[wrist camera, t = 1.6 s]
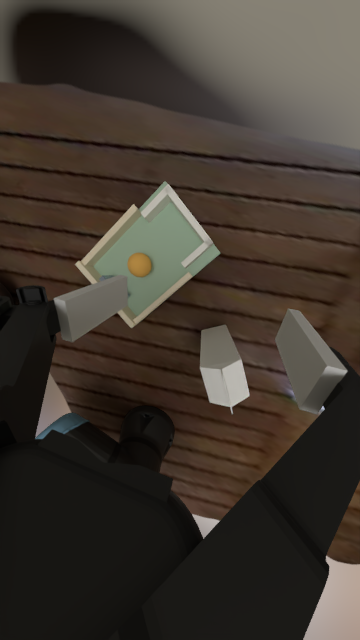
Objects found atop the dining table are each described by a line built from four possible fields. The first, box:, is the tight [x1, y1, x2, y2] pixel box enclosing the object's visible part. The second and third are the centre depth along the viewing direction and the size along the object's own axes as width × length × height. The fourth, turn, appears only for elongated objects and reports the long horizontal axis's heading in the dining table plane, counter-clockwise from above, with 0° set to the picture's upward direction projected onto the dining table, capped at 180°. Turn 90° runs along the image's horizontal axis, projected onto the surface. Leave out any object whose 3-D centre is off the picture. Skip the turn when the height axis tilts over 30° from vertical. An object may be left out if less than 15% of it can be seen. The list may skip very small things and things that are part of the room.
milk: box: [200, 325, 250, 414], centre depth 34 cm, size 6×6×22 cm
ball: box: [127, 253, 152, 277], centre depth 39 cm, size 5×5×5 cm
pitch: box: [75, 182, 220, 328], centre depth 39 cm, size 25×18×5 cm
